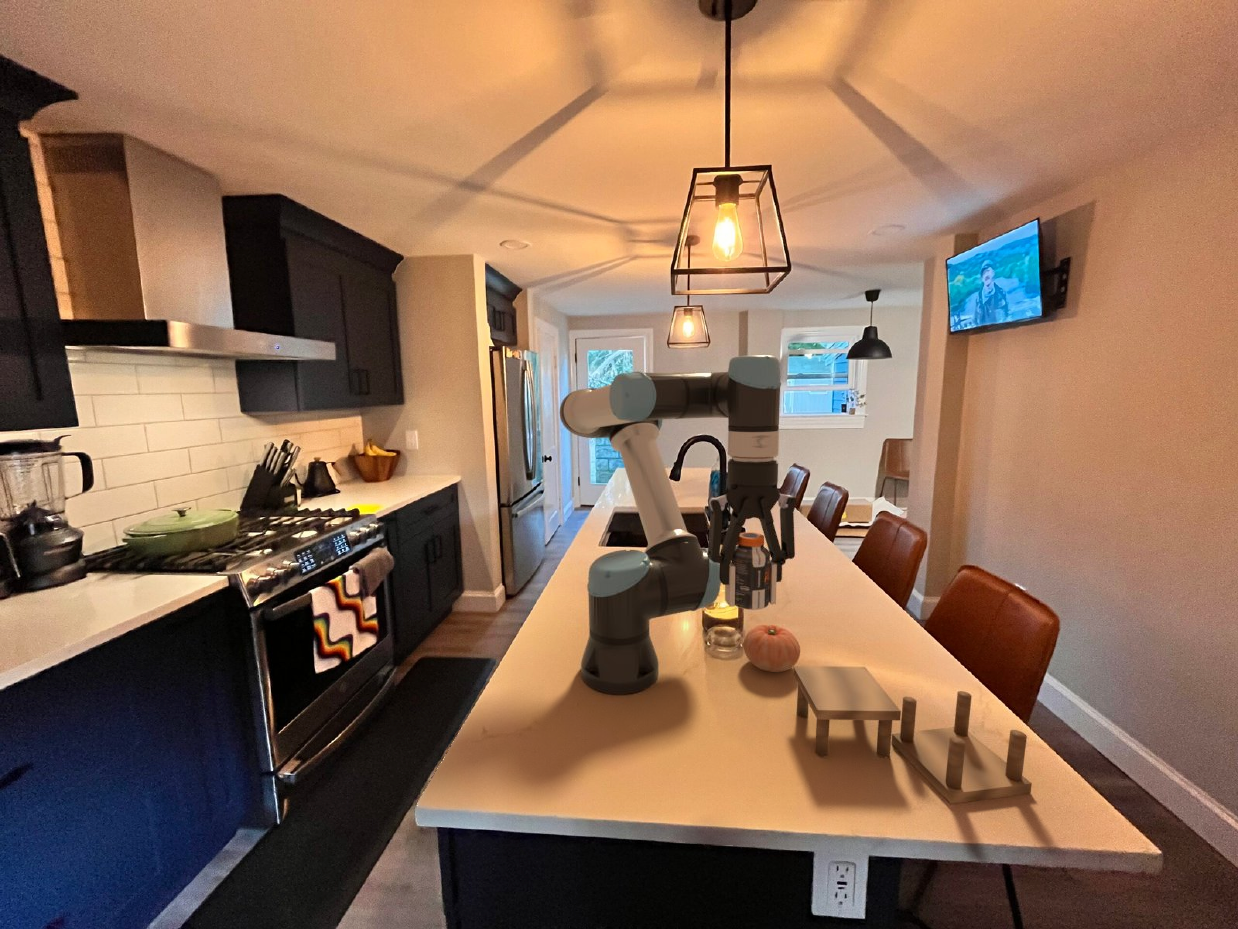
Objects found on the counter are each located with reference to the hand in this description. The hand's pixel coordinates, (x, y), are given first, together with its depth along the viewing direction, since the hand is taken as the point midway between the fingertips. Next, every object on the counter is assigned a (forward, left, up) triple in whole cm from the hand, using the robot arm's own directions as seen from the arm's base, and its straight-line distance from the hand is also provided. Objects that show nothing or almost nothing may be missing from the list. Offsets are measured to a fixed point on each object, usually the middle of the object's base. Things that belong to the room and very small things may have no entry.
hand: (750, 601), depth 82 cm
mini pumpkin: (+8, +18, -21) cm, 29 cm away
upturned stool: (+28, -9, -21) cm, 37 cm away
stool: (+14, -2, -21) cm, 26 cm away
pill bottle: (0, 0, 0) cm, 1 cm away
